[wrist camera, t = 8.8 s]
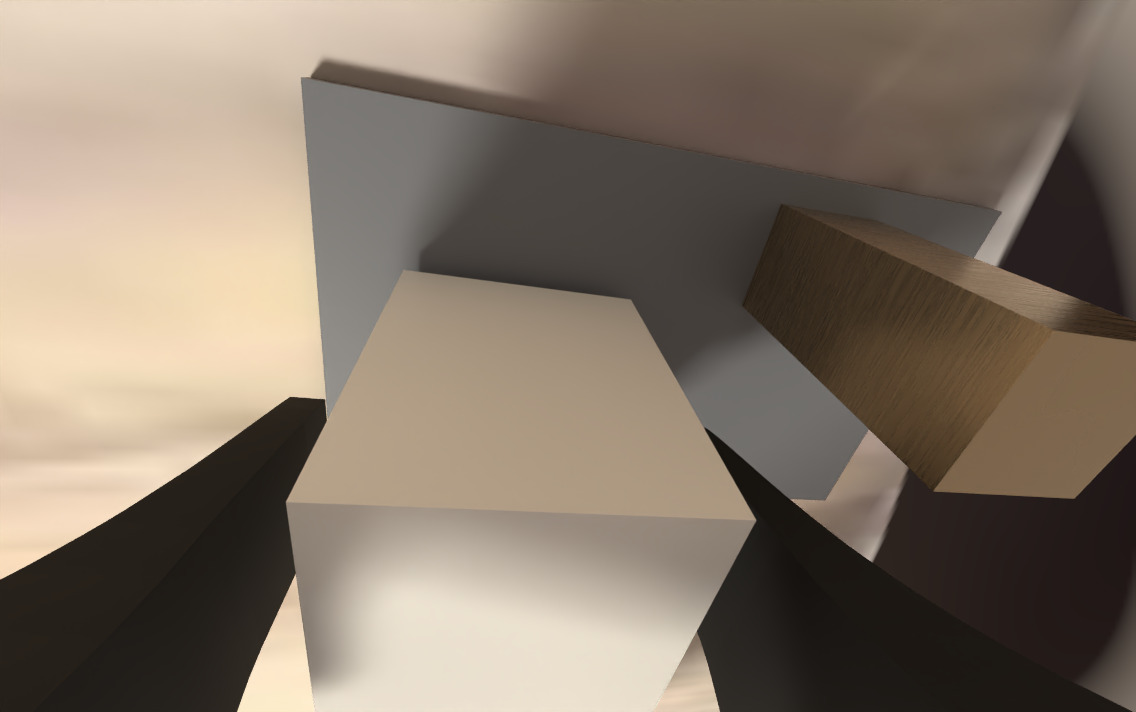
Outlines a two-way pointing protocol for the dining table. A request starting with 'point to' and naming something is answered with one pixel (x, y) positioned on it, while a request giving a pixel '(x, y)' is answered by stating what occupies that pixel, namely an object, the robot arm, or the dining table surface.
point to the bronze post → (950, 355)
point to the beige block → (508, 509)
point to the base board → (591, 249)
